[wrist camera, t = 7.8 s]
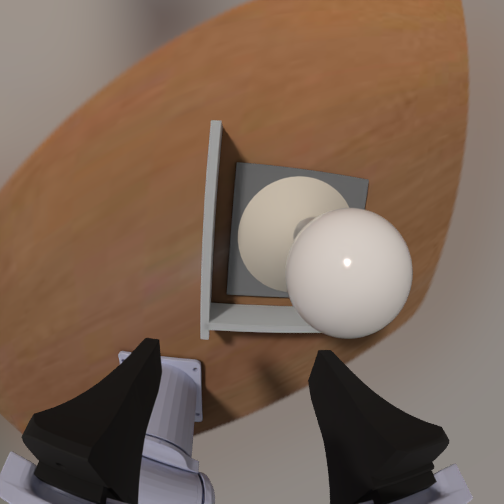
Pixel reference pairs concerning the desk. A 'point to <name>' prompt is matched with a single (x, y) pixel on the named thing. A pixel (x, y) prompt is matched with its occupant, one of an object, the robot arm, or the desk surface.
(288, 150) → the desk surface
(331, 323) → the lightbulb
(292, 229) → the mat
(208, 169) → the acrylic fence
